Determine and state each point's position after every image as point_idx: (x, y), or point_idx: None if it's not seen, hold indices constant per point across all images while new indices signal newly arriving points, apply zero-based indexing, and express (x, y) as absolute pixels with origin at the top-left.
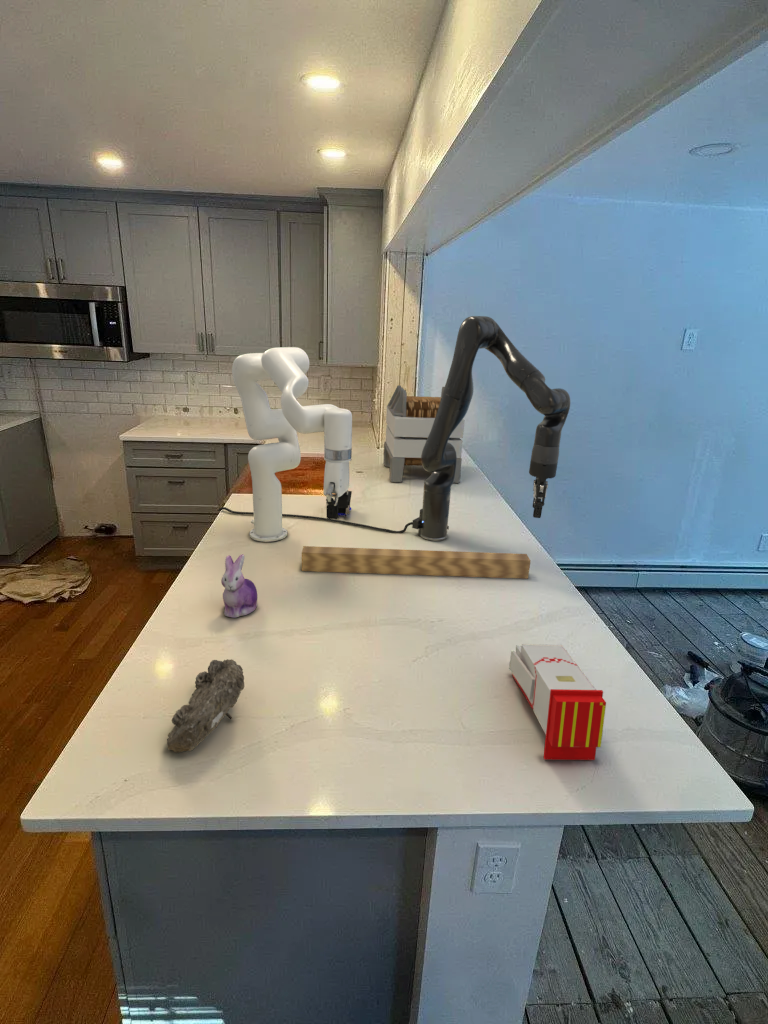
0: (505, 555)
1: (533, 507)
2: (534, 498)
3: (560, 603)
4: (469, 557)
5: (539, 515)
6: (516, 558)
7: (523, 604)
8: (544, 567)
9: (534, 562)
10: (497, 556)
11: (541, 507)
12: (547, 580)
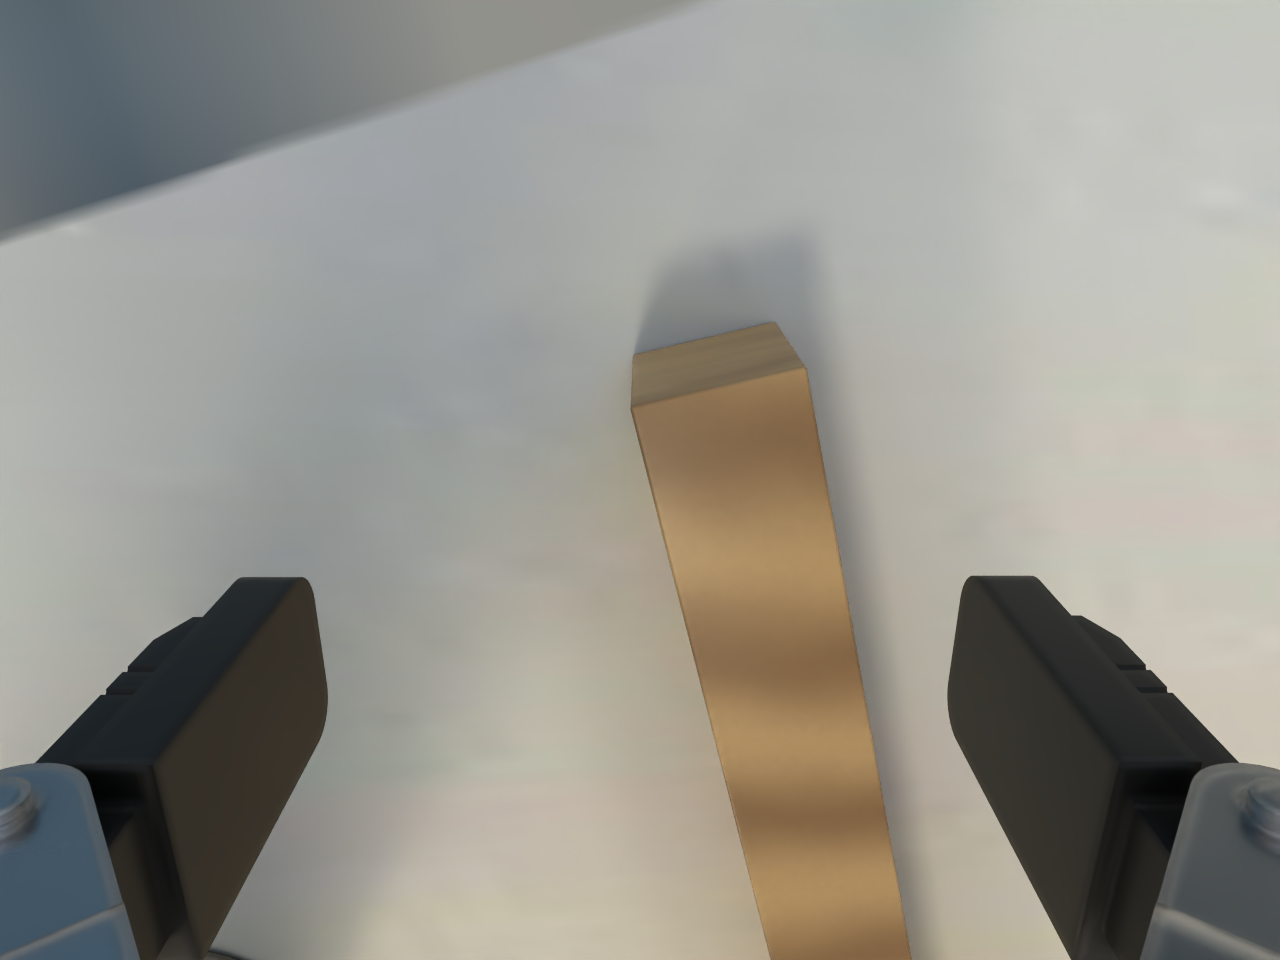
0: (745, 612)
1: (327, 704)
2: (225, 887)
3: (1237, 26)
4: (879, 884)
5: (1115, 642)
6: (791, 510)
7: (1277, 362)
8: (457, 153)
9: (373, 253)
10: (790, 679)
11: (1170, 752)
12: (761, 134)
